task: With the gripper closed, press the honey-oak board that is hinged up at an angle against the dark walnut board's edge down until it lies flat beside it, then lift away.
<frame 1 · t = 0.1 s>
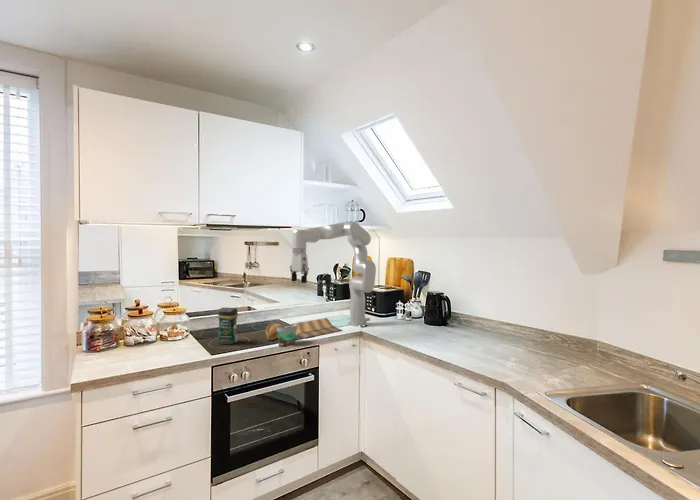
hand: (299, 282, 201), 31 cm above the worktop, tool pointing down, fingers open, 9 cm apart
coffee jar: (227, 343, 189), on the worktop
bread roll: (274, 338, 199), on the worktop
oak board: (312, 326, 213), point 3 cm above the worktop, hinge at 32.0°
walnut board: (320, 334, 208), on the worktop
food container: (289, 345, 186), on the worktop
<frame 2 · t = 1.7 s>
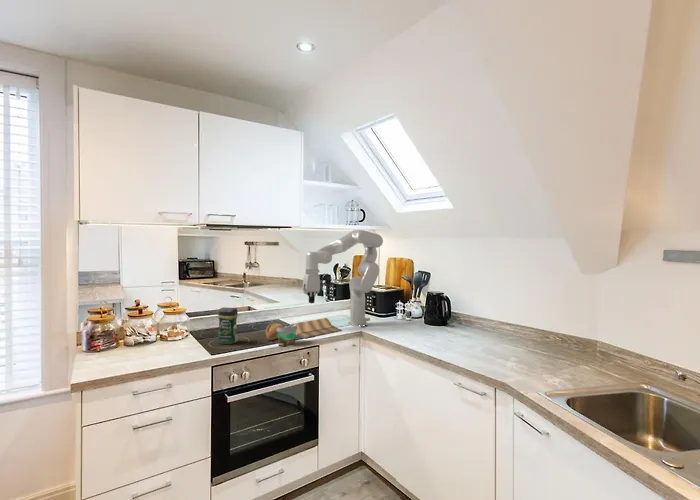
hand: (311, 302, 214), 17 cm above the worktop, tool pointing down, fingers closed
nothing on the worktop moved.
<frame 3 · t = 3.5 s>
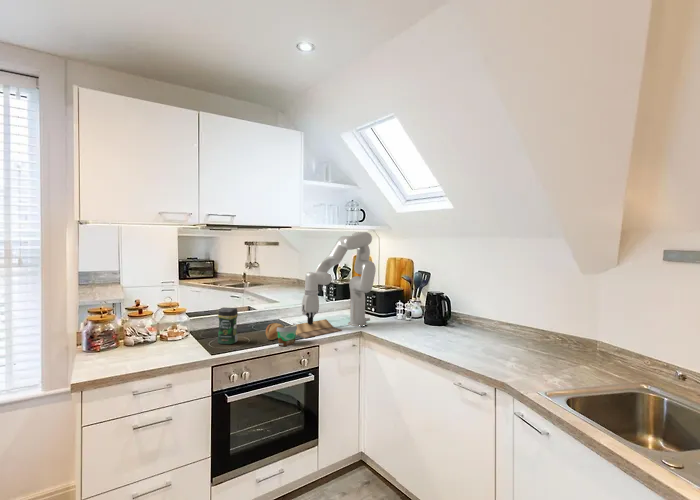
hand: (310, 323, 214), 5 cm above the worktop, tool pointing down, fingers closed
oak board: (312, 327, 214), point 3 cm above the worktop, hinge at 24.2°, touching gripper
everything else where it was.
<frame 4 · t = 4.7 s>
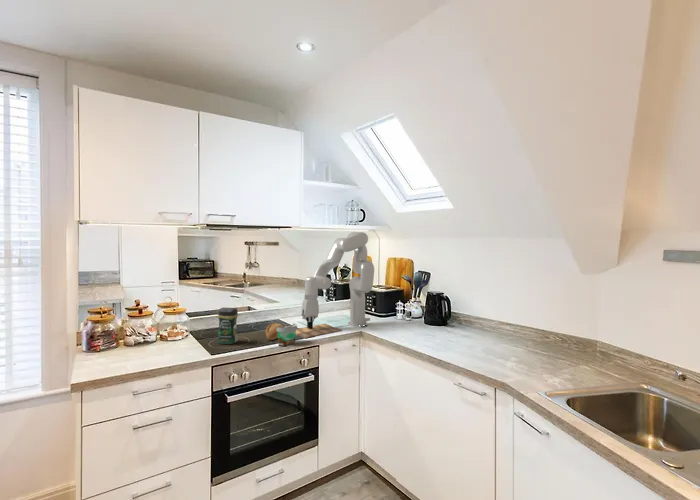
hand: (309, 328, 214), 2 cm above the worktop, tool pointing down, fingers closed
oak board: (311, 329, 214), point 1 cm above the worktop, hinge at 3.4°, touching gripper
everything else where it was.
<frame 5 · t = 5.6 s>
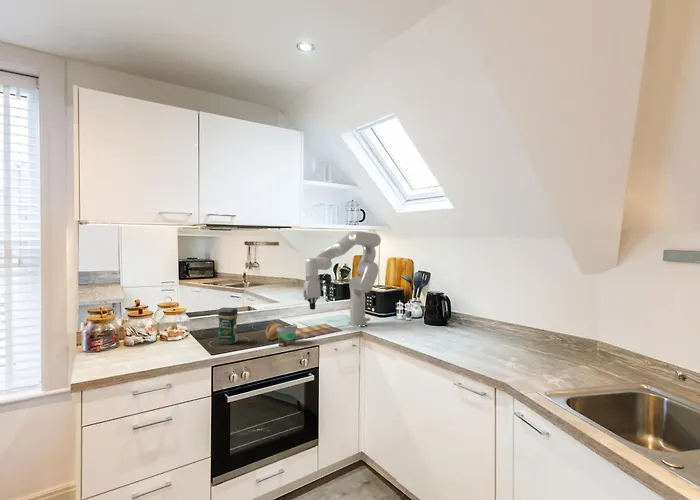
hand: (312, 309, 214), 13 cm above the worktop, tool pointing down, fingers closed
oak board: (311, 329, 214), point 1 cm above the worktop, hinge at 3.3°
everything else where it was.
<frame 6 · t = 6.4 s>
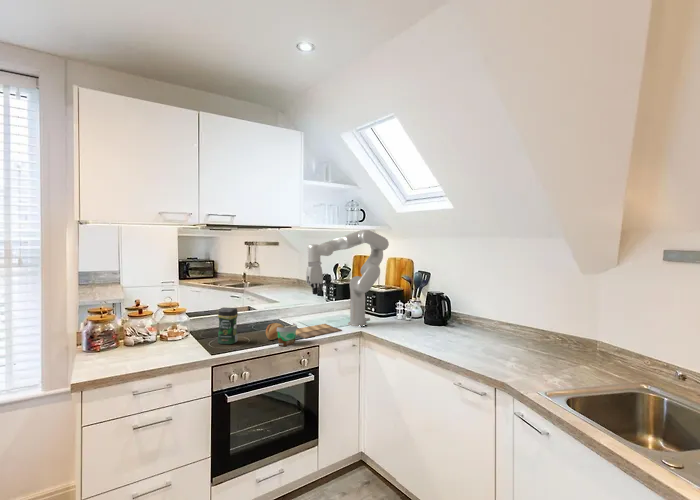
hand: (315, 294, 220), 21 cm above the worktop, tool pointing down, fingers closed
nothing on the worktop moved.
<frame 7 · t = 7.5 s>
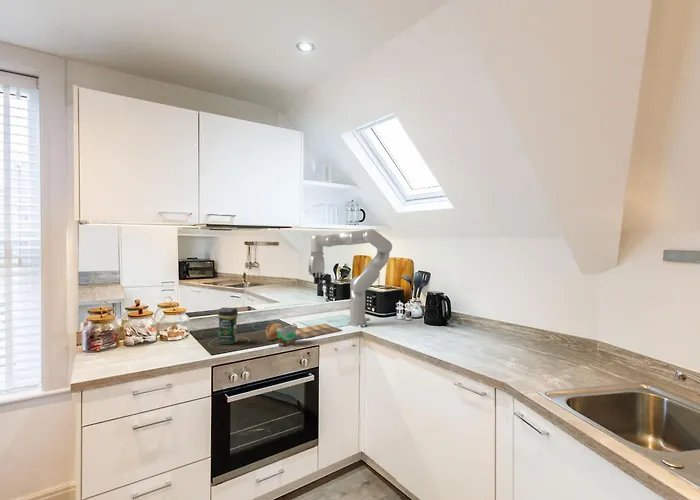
hand: (316, 283, 227), 27 cm above the worktop, tool pointing down, fingers closed
nothing on the worktop moved.
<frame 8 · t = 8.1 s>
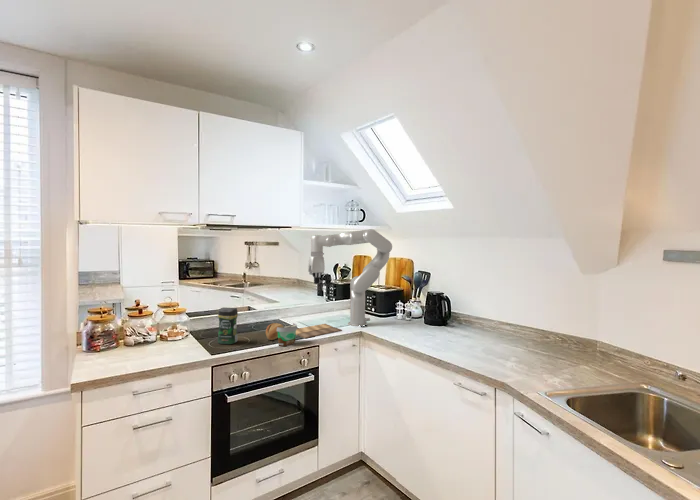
hand: (316, 283, 227), 27 cm above the worktop, tool pointing down, fingers closed
nothing on the worktop moved.
at the end: oak board at +3° (first picture: +32°); food container moved 0.2 cm from its start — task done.
